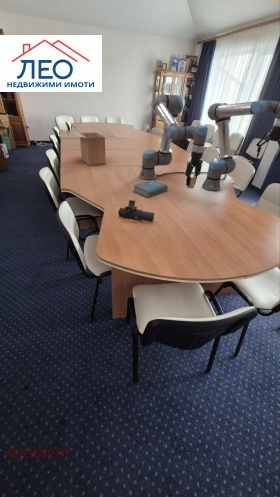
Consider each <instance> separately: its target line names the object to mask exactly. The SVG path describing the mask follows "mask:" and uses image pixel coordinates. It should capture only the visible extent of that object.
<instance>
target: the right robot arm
mask: <svg viewBox="0 0 280 497" xmlns="http://www.w3.org/2000/svg"><path fill="white" fill-rule="evenodd" d="M251 115H253V116H254V115H274V116H276V117H275V119H274V123H273V126H272V127H271V130H270V132H268V131H267V132H265V133H264V135H263V136H262V138H260V140H259V141H258V142H257V143H256V144H255V146H256V147H257V149H256V153H257V154H256V156H255V157H256V158H259V157H260V154H261V150H262V149H263V148H262V146H265V144H266V143H268V142H269V141H271V142H277V144H278V147H279V148H280V101H277V100H263V99H260V100H256V101H255V100H254V101H246V102H237V103H226V102H224V103H223V102H216V103H213V104H211V105H210V106H209V108H208V109H207V117H208V119H210V120H211V121H214V122H215V125H216V126H217V137H218V151H219V157H218V158H213V159H211V160H210V161H209V164H208V168H207V172H208V173H206V177H205V180H204V181H203V182H202V186H201V187H202V189H204V190H207V191H210V192H218V191H220V189H221V181H223V180H224V179H226V177H227V175H229V174H230V173H233V172H234V171H235V169H236V167H237V166H236V165H237V163H236V161H235V159H234V156H233V155H232V154H231V139H230V123H231V118H232V117H239V116H251ZM267 137H269V138H267ZM266 138H267V139H266ZM279 158H280V150H279V151H278V154H277V157H276V159H275V162H278V161H279ZM222 175H224V177H223V178H222Z"/></svg>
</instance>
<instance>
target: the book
mask: <svg viewBox="0 0 280 497" xmlns="http://www.w3.org/2000/svg"><path fill="white" fill-rule="evenodd" d="M168 187H169V186H168V184H166V183H164V182H160V181H159V180H156V179H153V180H146V181H143V182H140V183H137V184H134V185H133V193H135V194H138V195H140V196H142V197H145V198H150V197H153V196H156V195H159V194H161V193H164V192H167V191H168Z"/></svg>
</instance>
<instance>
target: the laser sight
mask: <svg viewBox="0 0 280 497" xmlns="http://www.w3.org/2000/svg"><path fill="white" fill-rule="evenodd" d="M117 214H118V217H119V218H123V219H126V220H133V221H139V222H140V221H145V222H151V223H152V222H154V220H155V212H152V211H144V210H142V209H138V207H137V206H136V200H131V199H129V200H128V205H127V206H125V207H119V209H118V210H117Z"/></svg>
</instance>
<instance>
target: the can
mask: <svg viewBox="0 0 280 497" xmlns="http://www.w3.org/2000/svg"><path fill="white" fill-rule="evenodd" d="M194 175H195V174H191V175H190V177H191V179H190V184H189V186H187V185H186V188H187V189H192V190H193V189H194V188H195V185H196V183H195V180H196V176H194ZM196 181H197V180H196Z"/></svg>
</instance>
